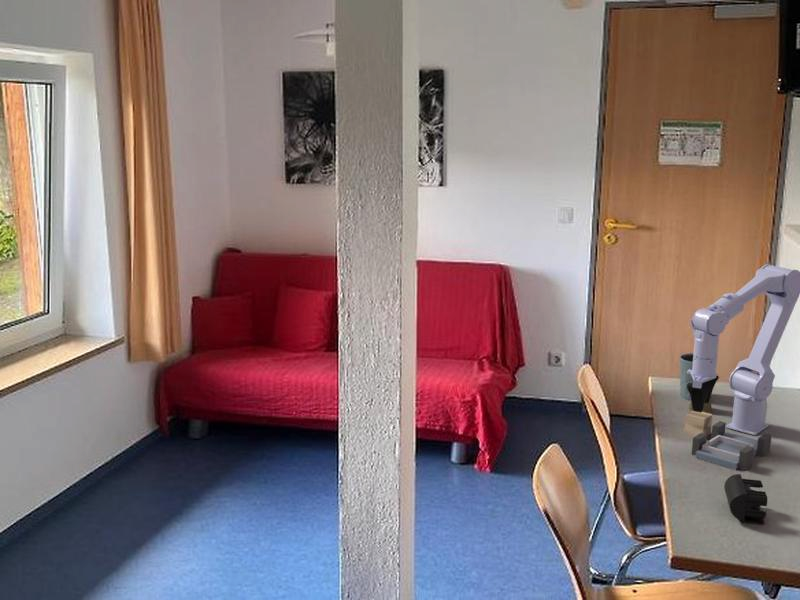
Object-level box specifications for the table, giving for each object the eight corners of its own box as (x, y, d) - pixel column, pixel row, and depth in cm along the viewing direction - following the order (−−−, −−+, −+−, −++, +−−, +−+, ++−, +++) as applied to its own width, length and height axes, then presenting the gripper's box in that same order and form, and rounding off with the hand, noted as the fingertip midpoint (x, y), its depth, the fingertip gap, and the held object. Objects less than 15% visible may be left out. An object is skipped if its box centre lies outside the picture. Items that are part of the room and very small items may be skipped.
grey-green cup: (714, 403, 242) (718, 364, 239) (677, 400, 244) (681, 361, 241) (710, 392, 251) (713, 354, 248) (675, 389, 254) (678, 351, 251)
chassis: (720, 435, 218) (721, 419, 217) (771, 449, 209) (773, 433, 208) (689, 455, 206) (690, 439, 205) (742, 471, 197) (744, 454, 196)
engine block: (692, 429, 223) (694, 409, 222) (710, 434, 220) (712, 414, 218) (683, 434, 220) (685, 414, 218) (702, 439, 216) (704, 419, 215)
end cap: (722, 500, 183) (725, 472, 181) (757, 504, 181) (760, 475, 179) (728, 522, 173) (731, 492, 172) (764, 526, 172) (768, 496, 170)
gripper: (695, 346, 220) (691, 395, 223) (682, 361, 208) (677, 412, 211) (723, 350, 216) (719, 400, 219) (711, 365, 204) (707, 417, 207)
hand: (700, 406), depth 215 cm, fingers open, 7 cm apart
